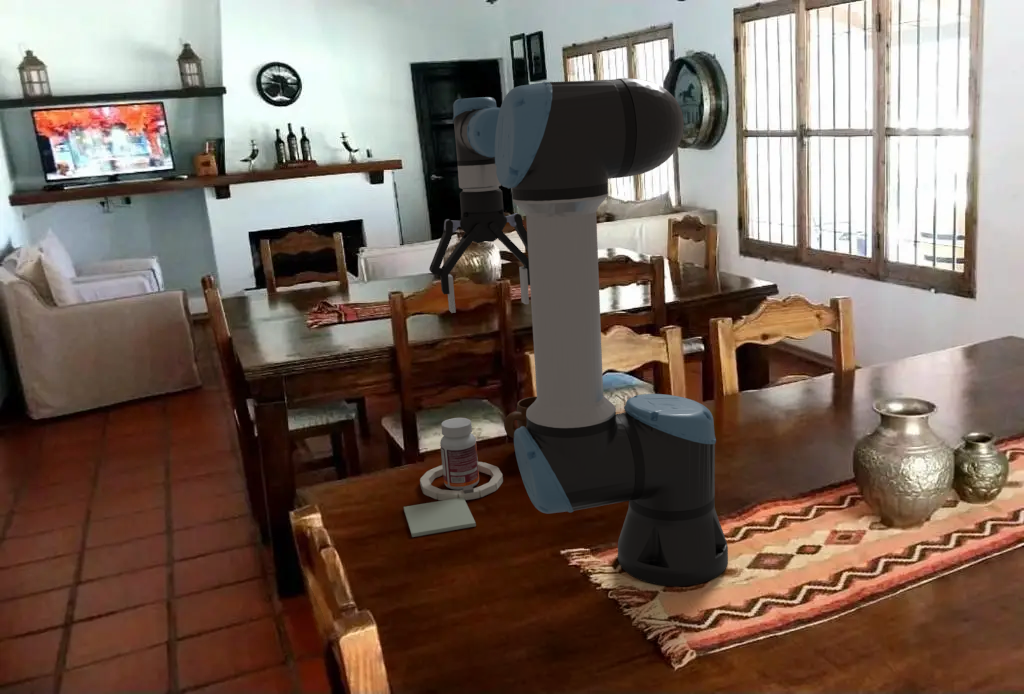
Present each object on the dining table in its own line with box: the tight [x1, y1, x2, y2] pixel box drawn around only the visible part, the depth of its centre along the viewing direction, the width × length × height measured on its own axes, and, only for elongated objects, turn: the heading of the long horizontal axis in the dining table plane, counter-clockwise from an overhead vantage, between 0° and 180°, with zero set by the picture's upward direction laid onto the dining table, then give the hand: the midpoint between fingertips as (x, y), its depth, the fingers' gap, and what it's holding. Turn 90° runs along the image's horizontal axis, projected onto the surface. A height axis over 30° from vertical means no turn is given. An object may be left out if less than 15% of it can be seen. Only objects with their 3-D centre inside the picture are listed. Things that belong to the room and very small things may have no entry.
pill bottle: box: [439, 417, 480, 491], centre depth 150 cm, size 6×6×11 cm
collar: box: [419, 461, 504, 501], centre depth 151 cm, size 14×14×2 cm
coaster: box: [403, 497, 477, 538], centre depth 139 cm, size 10×10×1 cm
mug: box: [503, 396, 537, 439], centre depth 162 cm, size 12×8×9 cm, turn 134°
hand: (489, 307), depth 158 cm, fingers open, 13 cm apart
